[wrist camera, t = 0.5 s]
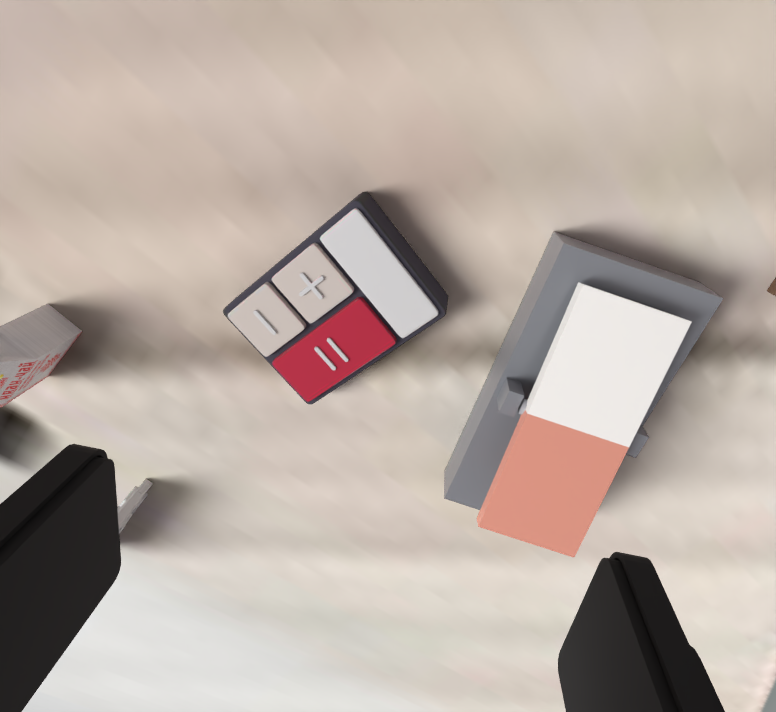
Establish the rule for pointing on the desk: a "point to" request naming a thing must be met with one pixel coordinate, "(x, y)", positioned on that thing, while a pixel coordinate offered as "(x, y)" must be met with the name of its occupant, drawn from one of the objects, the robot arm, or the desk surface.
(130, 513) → the cassette
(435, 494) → the desk surface
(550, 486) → the breaker rocker
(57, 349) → the white cardboard box
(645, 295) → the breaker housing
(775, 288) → the peg
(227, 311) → the calculator
